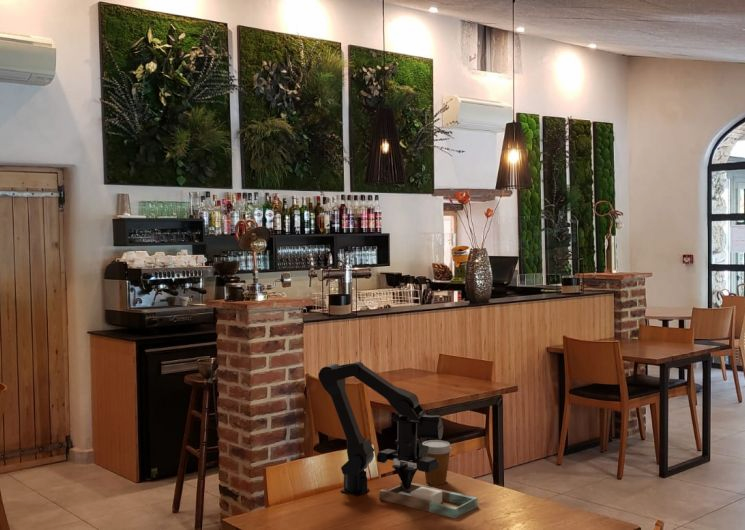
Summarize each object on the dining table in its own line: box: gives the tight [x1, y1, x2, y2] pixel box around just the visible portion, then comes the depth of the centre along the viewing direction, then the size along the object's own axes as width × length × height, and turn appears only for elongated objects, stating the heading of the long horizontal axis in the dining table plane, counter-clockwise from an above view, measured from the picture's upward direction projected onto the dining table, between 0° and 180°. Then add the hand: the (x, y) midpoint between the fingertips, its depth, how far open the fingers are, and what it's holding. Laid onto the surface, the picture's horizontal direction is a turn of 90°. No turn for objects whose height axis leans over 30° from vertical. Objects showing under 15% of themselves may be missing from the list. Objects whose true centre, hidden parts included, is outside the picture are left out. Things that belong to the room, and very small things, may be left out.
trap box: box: [379, 480, 479, 519], centre depth 236 cm, size 26×12×2 cm, turn 52°
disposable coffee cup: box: [421, 439, 452, 485], centre depth 255 cm, size 10×10×12 cm
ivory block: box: [411, 487, 443, 504], centre depth 236 cm, size 7×6×4 cm
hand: (407, 489), depth 240 cm, fingers closed
